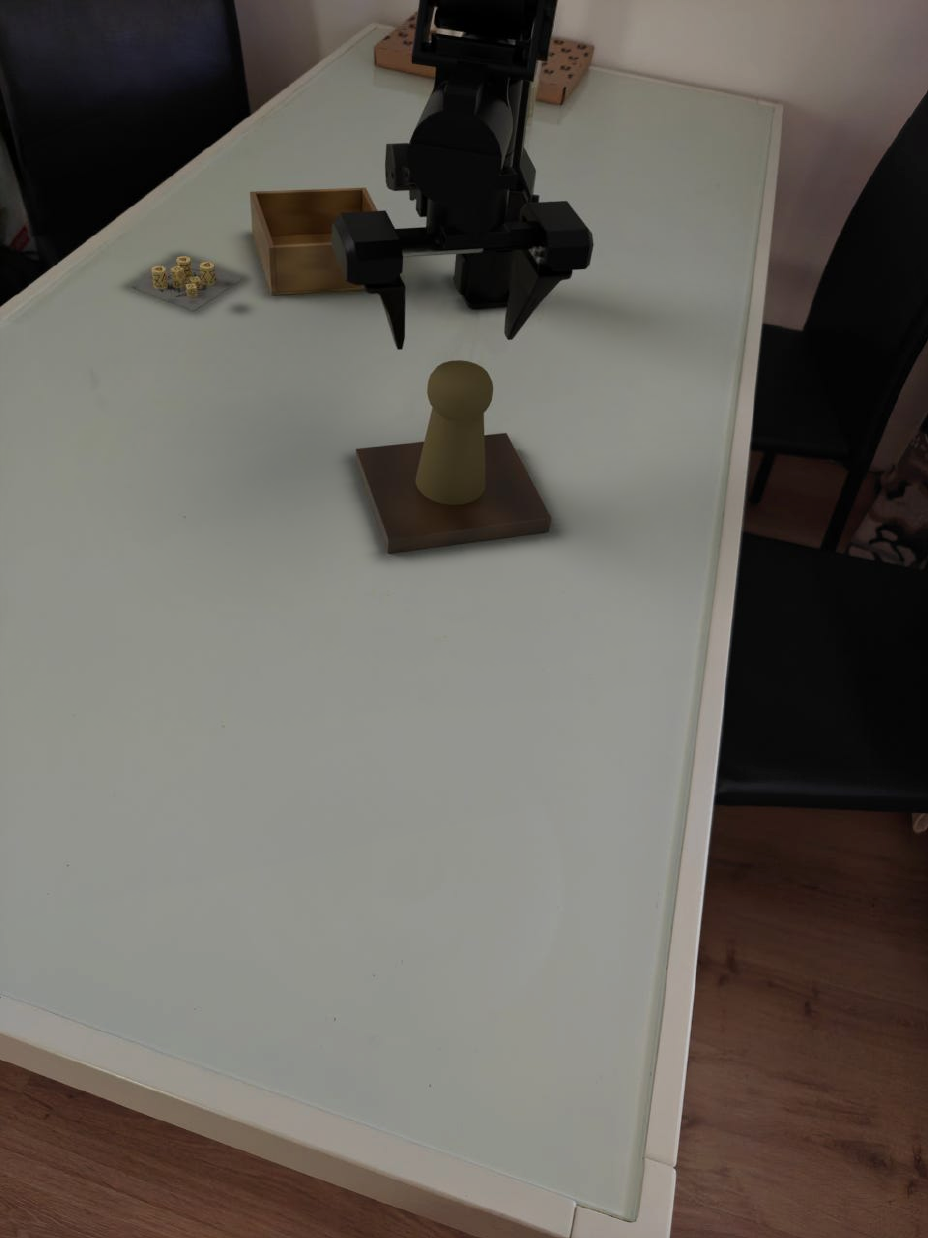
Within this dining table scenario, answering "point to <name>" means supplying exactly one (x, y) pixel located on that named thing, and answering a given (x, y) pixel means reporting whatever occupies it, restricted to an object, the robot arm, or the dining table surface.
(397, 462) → the walnut board
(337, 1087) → the dining table surface
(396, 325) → the robot arm
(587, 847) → the dining table surface
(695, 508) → the dining table surface
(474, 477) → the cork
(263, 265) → the wooden box
